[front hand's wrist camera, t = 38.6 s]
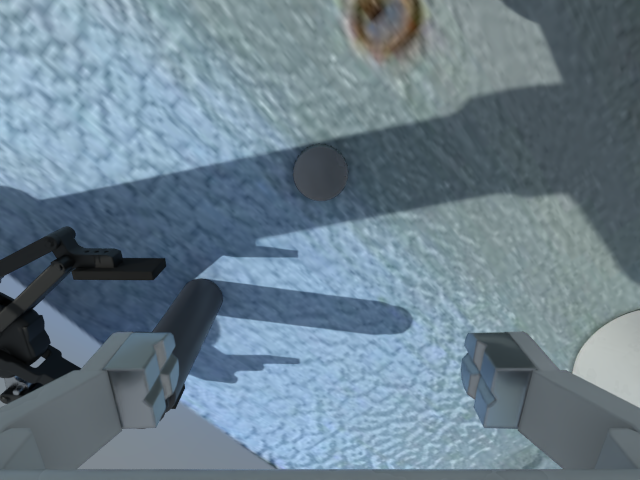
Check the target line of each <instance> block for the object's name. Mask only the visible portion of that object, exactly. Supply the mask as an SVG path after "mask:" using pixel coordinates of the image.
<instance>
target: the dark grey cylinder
mask: <svg viewBox="0 0 640 480" xmlns="http://www.w3.org/2000/svg"><path fill="white" fill-rule="evenodd" d="M222 301H223V297H222V293H221V290H220V289H219V288H218V286H217V285H216V284H214V283H213V282H211V281H209V280H205V279H195V280H192V281H190V282H188V283H187V284H186V285H185V287H184V288H183V289H182V291H181V292H180V294H179V295H178V296H177V298H176V299H175V301H174V302H173V303H172V305H171V306H170V308H169V309H168V310H167V312H166V313H165V315H164V316H163V317H162V319H161V320H160V322H159V323H158V325H157V326H156V327H155V329H154V330H153V332H169V333H171V334H173V335H174V340H175V345H176V346H175V348H174V349H173V351H172V354H173V355H174V356H175V357H176V358H177V359H178V363H179V377H178V382H177V386H176V388H175V390H174V393H173V394H172V395H171V396H169V397H168V398H167V399H165V403H166V409H165V411H164V413H163V415H162V417H161V419H162V418H163V417H164V415H165V413H166V412H167V411H169V410H170V409H171V408H172V407H173V406H174V404H175V402H176V399H177V397H178V395H179V393H180V391H181V389H182V387H183V385H184V383H185V380H186V378H187V376H188V374H189V372H190V370H191V368H192V366H193V364H194V361H195V359H196V357H197V355H198V353H199V351H200V349H201V347H202V345H203V342H204V340H205V338H206V336H207V334H208V332H209V330H210V328H211V326H212V323H213V321H214V319H215V317H216V315H217V313H218V311H219V309H220V307H221V304H222ZM161 419H160V420H161ZM137 429H144V428H137Z"/></svg>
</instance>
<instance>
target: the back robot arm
mask: <svg viewBox="0 0 640 480" xmlns="http://www.w3.org/2000/svg"><path fill="white" fill-rule="evenodd" d="M74 238H75V231H74V230H73V229H72V228H70V227H67V226H66V227H63V228H61V229H59V230H57V231H55V232H53V233H51V234H49V235H47V236H45V237H43V238H41V239H40V240H38V241H36V242H34V243H32V244H30V245H28V246H26V247H24V248H23V249H21V250H19V251H17V252H15V253H13V254H11V255H9V256H7V257H5V258H4V259H2V260H0V283H1V279H2V278H3V277H4V276H5V275H7V274H9V273H10V272H12V271H14V270H16V269H18V268H20V267H22V266H24V265H26V264H28V263H30V262H32V261H34V260H36V259H38V258H39V257H41V256H43V255H45V254H47V253H49V252H51V251H52V252H53V253H54V255H55V256H56V258H57V259H56V260H54V261H53V262H51V265H50V266H49V267H48V268H47V269H46V270H45V271H44V272H43V273H42V274H41V275H40V276H39V277H38V278H37V279H35V280H34V281H33V282H32V283H31V284H30V285H29V286H28V287H27V288H26V289H25V290H24V291H23V292H22V293H21V294H20V295H19V296H18V297H17V298H16V299H13V298H11V297H9V296H7V295H5V294H3V293H1V292H0V377H1V378H4V380H5V385H6V390H5V391H4V392H3V393H2V394H1V395H0V400H1V401H2V402H3V403H5V404H9V403H10V402H12V401H14V400H16V399H18V398H20V397H22V396H24V395H26V394H28V393H30V392H32V391H34V390H36V389H38V388H40V387H42V386H44V385H46V384H48V383H50V382H52V381H54V380H56V379H58V378H60V377H62V376H64V375H66V374H68V373H70V372H72V371H74V370H81V368H79V367H78V366H76V365H74V364H73V363H71V362H69V361H67V360H66V359H64V358H62V354H61V352H60V351H59V350H57V349H56V348H54V347H52V346H51V345H49V344H50V339H49V336H48V335H47V333H46V331H45V330H44V319H43V316H42V315H38V313H37V312H36V311H35V310H33V308H34V307H35V306H36V305H37V304H38V303H39V302H40V301H41V300H42V299H44V298H45V296H46V295H47V294H48V293H49V292H50V291H51V290H52V289H53V288H54V287H55V286H57V285H58V284H59V283H60V282H61V281H62V280H63V279H64V278H65V277H66V276H67V275H68V274H69V273H70V272H71V271H72V270H73V269H74V270H73V271H72V275H73V279H74V280H154V279H155V278H156V277H157V276H158V275H159V274H160V272H161V271H162V270H163V269H164V268H165V267H166V262H165V258H122V254H121V251H120V250H117V249H101V248H83V247H81V246H80V245H78V243H77V242H76V240H75V239H74ZM75 268H76V269H75ZM41 356H42V357H43V358H45V359H46V360H45V361H44V362H43V363H42V364H41V365H40V366H39V367H37V368H33V367H31V366H30V365H31V364H32V363H34V362H35V361H36V360H38V359H39V358H40V357H41ZM184 389H185V384H184V385H183V387H182V389H181V391H180V393H179V395H178V397H177V399H176V402H175V404H174V406H173V407H172V408H171V409H176V407H177V404H178V402H179V400H180V398H181V396H182V394H183V391H184Z"/></svg>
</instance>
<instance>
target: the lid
mask: <svg viewBox="0 0 640 480" xmlns="http://www.w3.org/2000/svg"><path fill="white" fill-rule="evenodd" d="M294 164H295V166H294V168H293V170H294V172H293V176H294V182H295V184H296V187H297V188H298V190H299V191H300V192H301V193H302V194H303V195H304V196H306V197H307V198H309V199H312V200H316V201H326V200H329V199H332V198H334V197H336V196H337V195H338V194H339V193H340V192H341V191H342V190H343V188H344V187H345V185H346V182H347V179H348V169H347V163H345V158H343V156H342V154H341V153H339V152H338V151H337V149H335V148H333V147H332V146H328V145H326V144H325V145H322V144H318V145H312V146H311V147H307V149H305V150H304V151H302V152H301V154H300V155H298V157H297V161H295V163H294Z"/></svg>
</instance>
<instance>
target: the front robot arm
mask: <svg viewBox="0 0 640 480" xmlns="http://www.w3.org/2000/svg"><path fill="white" fill-rule="evenodd" d="M175 346H176V345H175V340H174V335H173V334H171V333H169V332H115V333H113V334H112V335H111V336H110V337H109V338H108V339H107V340H106V341H105V343H104V344H103V345H102V346H101V347H100V348H99V349H98V350H97V352H96V353H95V354H94V355H93V356H92V357H91V358H90V360H89V361H88V362H87V363H86V364H85V365H84V366H83V367H82V369H81V370H74V371H72V372H70V373H68V374H66V375H64V376H62V377H60V378H58V379H56V380H54V381H52V382H50V383H48V384H46V385H44V386H42V387H40V388H38V389H36V390H34V391H32V392H30V393H28V394H26V395H24V396H22V397H20V398H18V399H16V400H14V401H12V402H10V403H9V404H7V405H5V406H3V407H1V408H0V480H640V310H637V311H634V312H630V313H628V314H625V315H622V316H620V317H618V318H616V319H614V320H612V321H610V322H609V323H607V324H606V325H604V326H603V327H601V328H600V329H599V330H598V331H596V332H595V333H594V334H593V335H592V336H591V337H590V338H589V339H588V340H587V342H586V343H585V344H584V345H583V347H582V348H581V350H580V352H579V353H578V355H577V358H576V360H575V363H574V368H573V372H572V373H570V372H568V371H566V370H559V369H558V367H557V366H556V365H555V364H554V363H553V362H552V361H551V359H550V358H549V357H548V356H547V355H546V354H545V353H544V352H543V350H542V349H541V348H540V347H539V346H538V345H537V344H536V343H535V341H534V340H533V339H532V338H531V337H530V336H529V335H528V334H527V333H525V332H523V331H522V332H504V333H468V334H467V336H466V339H465V345H464V346H465V348H466V349H467V351H468V354H467V355H466V356H465V357H464V358H463V359H462V363H461V377H462V382H463V386H464V388H465V390H466V393H467V394H468V395H469V396H471V397H472V398H473V399H475V403H474V409H475V411H476V413H477V415H478V417H479V419H480V421H481V423H482V425H483V427H484V428H508V429H518V431H519V432H520V433H522V434H523V435H524V436H525V437H526V438H527V439H529V440H530V441H531V442H532V443H533V444H534V445H536V446H537V447H538V448H539V449H540V450H542V451H543V452H544V453H545V454H546V455H547V456H549V457H550V458H551V459H552V460H553V461H555V462H556V463H557V464H558V465H559V466H560V467H562V468H563V469H77V468H78V467H80V466H81V465H82V464H83V463H84V462H86V461H87V460H88V459H89V458H90V457H91V456H93V455H94V454H95V453H96V452H97V451H98V450H100V449H101V448H102V447H103V446H104V445H106V444H107V443H108V442H109V441H110V440H112V439H113V438H114V437H115V436H116V435H117V434H119V433H120V432H121V431H122V429H131V428H156V427H157V425H158V423H159V421H160V419H161V417H162V415H163V413H164V411H165V409H166V403H165V399H167V398H168V397H169V396H171V395H172V394H173V393H174V390H175V388H176V386H177V382H178V377H179V363H178V359H177V358H176V357H175V356H174V355H173V354H172V351H173V349H174V348H175Z"/></svg>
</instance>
